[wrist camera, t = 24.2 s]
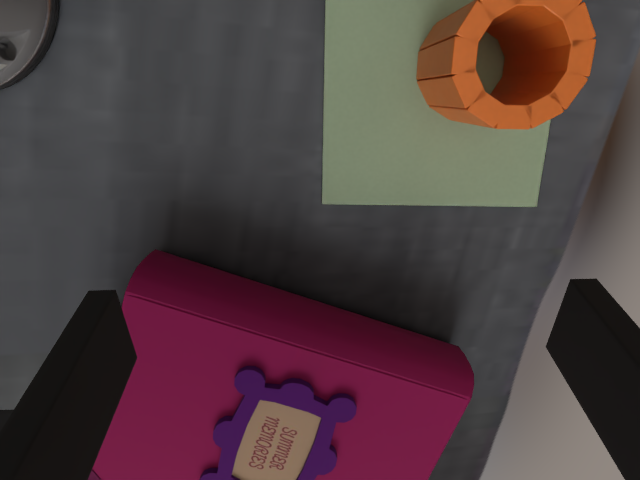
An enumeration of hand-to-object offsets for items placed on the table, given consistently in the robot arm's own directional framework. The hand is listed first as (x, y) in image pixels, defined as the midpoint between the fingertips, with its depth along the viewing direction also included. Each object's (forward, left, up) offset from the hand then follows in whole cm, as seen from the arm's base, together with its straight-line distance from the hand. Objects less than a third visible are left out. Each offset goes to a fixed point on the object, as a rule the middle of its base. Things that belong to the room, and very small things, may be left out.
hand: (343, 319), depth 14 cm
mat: (+9, +8, -25) cm, 28 cm away
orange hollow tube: (+11, +9, -25) cm, 28 cm away
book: (-4, -20, -25) cm, 33 cm away
